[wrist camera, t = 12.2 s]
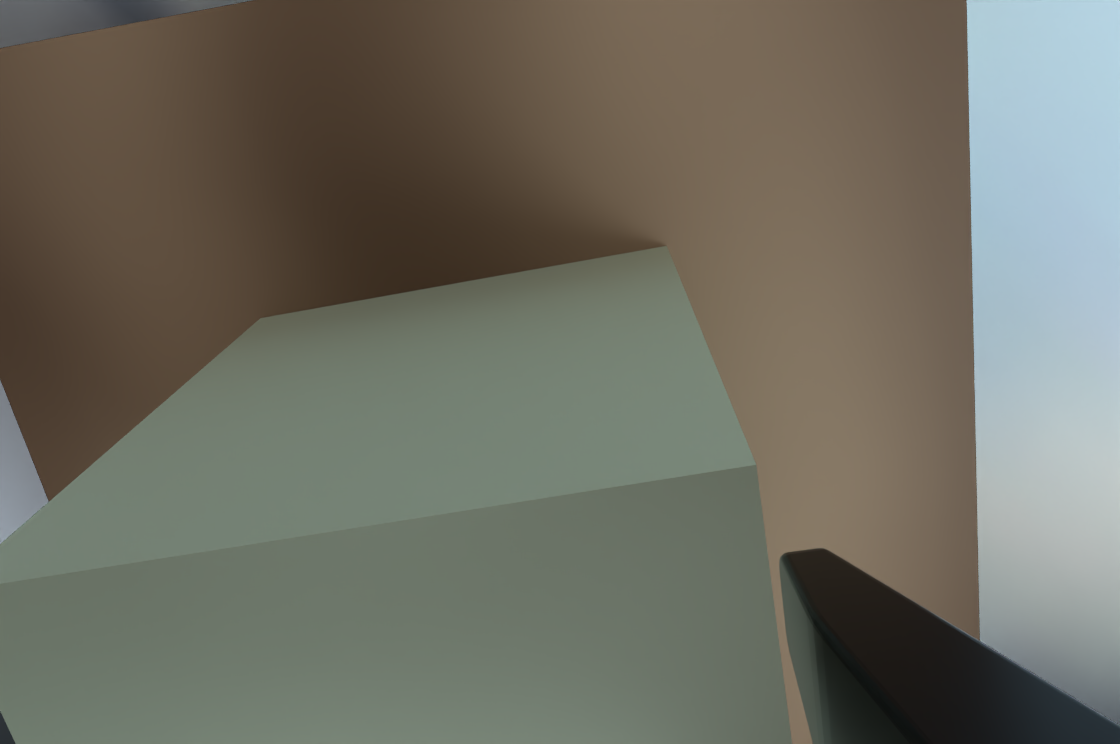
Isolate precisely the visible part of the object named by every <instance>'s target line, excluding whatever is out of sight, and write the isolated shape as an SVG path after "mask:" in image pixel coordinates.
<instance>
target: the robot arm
mask: <svg viewBox="0 0 1120 744" xmlns="http://www.w3.org/2000/svg"><path fill="white" fill-rule="evenodd" d="M779 571H780V581H781V590H782V600H783V609H784V619H785V628H786V636H787V642H788V647H789V652H790V656H791V660H792V664H793V668H794V672H795V676H796V680H797V684H798V687H799V691H800V695H801V699H802V703H803V707H804V711H805V715H806V719H807V722H808V726H809V730H810V734H811V738H812V742H813V744H1120V725H1119V724H1117V723H1116V722H1114V721H1112V720H1111V719H1109V718H1107V717H1106V716H1104V715H1102V714H1101V713H1099V712H1097V711H1096V710H1094V709H1092V708H1091V707H1089V706H1087V705H1086V704H1084V703H1082V702H1081V701H1079V700H1077V699H1076V698H1074V697H1072V696H1071V695H1069V694H1067V693H1066V692H1064V691H1062V690H1061V689H1059V688H1057V687H1056V686H1054V685H1052V684H1051V683H1049V682H1047V681H1046V680H1044V679H1042V678H1041V677H1039V676H1037V675H1036V674H1034V673H1032V672H1031V671H1029V670H1027V669H1026V668H1024V667H1022V666H1021V665H1019V664H1017V663H1016V662H1014V661H1012V660H1011V659H1009V658H1007V657H1006V656H1004V655H1002V654H1001V653H999V652H997V651H996V650H994V649H992V648H991V647H989V646H987V645H986V644H984V643H982V642H981V641H979V640H977V639H976V638H974V637H972V636H971V635H969V634H967V633H966V632H964V631H962V630H961V629H959V628H957V627H956V626H954V625H952V624H951V623H949V622H947V621H946V620H944V619H942V618H941V617H939V616H937V615H936V614H934V613H932V612H931V611H929V610H927V609H926V608H924V607H922V606H921V605H919V604H917V603H916V602H914V601H912V600H911V599H909V598H907V597H906V596H904V595H903V594H901V593H899V592H898V591H896V590H894V589H893V588H891V587H889V586H888V585H886V584H884V583H883V582H881V581H879V580H878V579H876V578H874V577H873V576H871V575H869V574H868V573H866V572H864V571H863V570H861V569H859V568H858V567H856V566H854V565H853V564H851V563H849V562H848V561H846V560H844V559H843V558H841V557H839V556H838V555H836V554H834V553H833V552H831V551H829V550H827V549H825V548H815V549H807V550H800V551H793V552H787V553H784V554H783V555H782V556H781V557H780V560H779ZM0 744H16V743H15V741H14V739H13V737H12V735H11V733H10V731H9V729H8V726H7V724H6V722H5V720H4V718H3V716H2V714H1V711H0Z"/></svg>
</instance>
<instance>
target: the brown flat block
mask: <svg viewBox="0 0 1120 744" xmlns="http://www.w3.org/2000/svg"><path fill="white" fill-rule="evenodd" d="M663 246H667V248H668V250H669V253H670V255H671V258H672V260H673V262H674V265H675V267H676V270H677V272H678V275H679V277H680V280H681V282H682V284H683V287H684V289H685V292H686V294H687V297H688V299H689V302H690V304H691V306H692V309H693V311H694V314H695V316H696V319H697V321H698V324H699V326H700V328H701V331H702V333H703V336H704V338H705V341H706V343H707V346H708V348H709V350H710V353H711V355H712V358H713V360H714V363H715V365H716V368H717V370H718V372H719V375H720V377H721V380H722V382H723V385H724V387H725V390H726V392H727V394H728V397H729V399H730V402H731V404H732V407H733V409H734V412H735V414H736V416H737V419H738V421H739V424H740V426H741V429H742V431H743V434H744V436H745V438H746V441H747V443H748V446H749V448H750V451H751V453H752V456H753V458H754V460H755V463H756V467H757V474H758V482H759V490H760V498H761V506H762V513H763V521H764V529H765V537H766V544H767V552H768V560H769V568H770V576H771V583H772V591H773V599H774V607H775V614H776V622H777V630H778V638H779V646H780V653H781V661H782V669H783V677H784V685H785V692H786V700H787V708H788V716H789V723H790V731H791V739H792V744H813V742H812V738H811V734H810V730H809V726H808V722H807V719H806V715H805V711H804V707H803V703H802V699H801V695H800V691H799V687H798V684H797V680H796V676H795V672H794V668H793V664H792V660H791V656H790V652H789V647H788V642H787V636H786V628H785V619H784V609H783V600H782V590H781V581H780V571H779V560H780V557H781V556H782V555H783V554H784V553H787V552H793V551H800V550H807V549H815V548H825V549H827V550H829V551H831V552H833V553H834V554H836V555H838V556H839V557H841V558H843V559H844V560H846V561H848V562H849V563H851V564H853V565H854V566H856V567H858V568H859V569H861V570H863V571H864V572H866V573H868V574H869V575H871V576H873V577H874V578H876V579H878V580H879V581H881V582H883V583H884V584H886V585H888V586H889V587H891V588H893V589H894V590H896V591H898V592H899V593H901V594H903V595H904V596H906V597H907V598H909V599H911V600H912V601H914V602H916V603H917V604H919V605H921V606H922V607H924V608H926V609H927V610H929V611H931V612H932V613H934V614H936V615H937V616H939V617H941V618H942V619H944V620H946V621H947V622H949V623H951V624H952V625H954V626H956V627H957V628H959V629H961V630H962V631H964V632H966V633H967V634H969V635H971V636H972V637H974V638H976V639H977V640H979V641H980V634H979V585H978V537H977V488H976V440H975V391H974V342H973V294H972V245H971V197H970V148H969V100H968V51H967V3H966V0H253V1H247V2H242V3H237V4H231V5H226V6H221V7H216V8H210V9H205V10H200V11H194V12H189V13H184V14H178V15H173V16H168V17H163V18H157V19H152V20H147V21H141V22H136V23H131V24H125V25H120V26H115V27H110V28H104V29H99V30H94V31H88V32H83V33H78V34H72V35H67V36H62V37H57V38H51V39H46V40H41V41H35V42H30V43H25V44H19V45H14V46H9V47H4V48H0V380H1V382H2V385H3V387H4V390H5V392H6V395H7V397H8V400H9V402H10V405H11V408H12V410H13V413H14V415H15V418H16V420H17V423H18V425H19V428H20V430H21V433H22V435H23V438H24V440H25V443H26V445H27V448H28V450H29V453H30V455H31V458H32V460H33V463H34V465H35V468H36V470H37V473H38V475H39V478H40V480H41V483H42V485H43V488H44V490H45V493H46V495H47V498H48V500H49V501H51V500H52V499H53V498H54V497H55V496H56V495H57V494H59V493H60V492H61V491H62V490H63V489H64V488H65V487H67V486H68V485H69V484H70V483H71V482H72V481H74V480H75V479H76V478H77V477H78V476H79V475H80V474H82V473H83V472H84V471H85V470H86V469H87V468H89V467H90V466H91V465H92V464H93V463H94V462H95V461H97V460H98V459H99V458H100V457H101V456H102V455H103V454H105V453H106V452H107V451H108V450H109V449H110V448H112V447H113V446H114V445H115V444H116V443H117V442H118V441H120V440H121V439H122V438H123V437H124V436H125V435H127V434H128V433H129V432H130V431H131V430H132V429H133V428H135V427H136V426H137V425H138V424H139V423H140V422H141V421H143V420H144V419H145V418H146V417H147V416H148V415H150V414H151V413H152V412H153V411H154V410H155V409H156V408H158V407H159V406H160V405H161V404H162V403H163V402H165V401H166V400H167V399H168V398H169V397H170V396H171V395H173V394H174V393H175V392H176V391H177V390H178V389H179V388H181V387H182V386H183V385H184V384H185V383H186V382H188V381H189V380H190V379H191V378H192V377H193V376H194V375H196V374H197V373H198V372H199V371H200V370H201V369H203V368H204V367H205V366H206V365H207V364H208V363H209V362H211V361H212V360H213V359H214V358H215V357H216V356H217V355H219V354H220V353H221V352H222V351H223V350H224V349H226V348H227V347H228V346H229V345H230V344H231V343H232V342H234V341H235V340H236V339H237V338H238V337H239V336H241V335H242V334H243V333H244V332H245V331H246V330H247V329H249V328H250V327H251V326H252V325H253V324H254V323H255V322H257V321H258V320H259V319H260V318H264V317H270V316H275V315H281V314H287V313H292V312H298V311H303V310H309V309H315V308H320V307H326V306H332V305H337V304H343V303H348V302H354V301H360V300H365V299H371V298H376V297H382V296H388V295H393V294H399V293H404V292H410V291H416V290H421V289H427V288H433V287H438V286H444V285H449V284H455V283H461V282H466V281H472V280H477V279H483V278H489V277H494V276H500V275H505V274H511V273H517V272H522V271H528V270H534V269H539V268H545V267H550V266H556V265H562V264H567V263H573V262H578V261H584V260H590V259H595V258H601V257H607V256H612V255H618V254H623V253H629V252H635V251H640V250H646V249H651V248H657V247H663Z"/></svg>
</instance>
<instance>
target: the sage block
mask: <svg viewBox="0 0 1120 744" xmlns="http://www.w3.org/2000/svg"><path fill="white" fill-rule="evenodd" d="M0 711H1V714H2V716H3V718H4V720H5V722H6V724H7V726H8V729H9V731H10V733H11V735H12V737H13V739H14V741H15V743H16V744H792V739H791V731H790V723H789V716H788V708H787V700H786V692H785V685H784V677H783V669H782V661H781V653H780V646H779V638H778V630H777V622H776V614H775V607H774V599H773V591H772V583H771V576H770V568H769V560H768V552H767V544H766V537H765V529H764V521H763V513H762V506H761V498H760V490H759V482H758V474H757V467H756V463H755V460H754V458H753V456H752V453H751V451H750V448H749V446H748V443H747V441H746V438H745V436H744V434H743V431H742V429H741V426H740V424H739V421H738V419H737V416H736V414H735V412H734V409H733V407H732V404H731V402H730V399H729V397H728V394H727V392H726V390H725V387H724V385H723V382H722V380H721V377H720V375H719V372H718V370H717V368H716V365H715V363H714V360H713V358H712V355H711V353H710V350H709V348H708V346H707V343H706V341H705V338H704V336H703V333H702V331H701V328H700V326H699V324H698V321H697V319H696V316H695V314H694V311H693V309H692V306H691V304H690V302H689V299H688V297H687V294H686V292H685V289H684V287H683V284H682V282H681V280H680V277H679V275H678V272H677V270H676V267H675V265H674V262H673V260H672V258H671V255H670V253H669V250H668V248H667V246H663V247H657V248H651V249H646V250H640V251H635V252H629V253H623V254H618V255H612V256H607V257H601V258H595V259H590V260H584V261H578V262H573V263H567V264H562V265H556V266H550V267H545V268H539V269H534V270H528V271H522V272H517V273H511V274H505V275H500V276H494V277H489V278H483V279H477V280H472V281H466V282H461V283H455V284H449V285H444V286H438V287H433V288H427V289H421V290H416V291H410V292H404V293H399V294H393V295H388V296H382V297H376V298H371V299H365V300H360V301H354V302H348V303H343V304H337V305H332V306H326V307H320V308H315V309H309V310H303V311H298V312H292V313H287V314H281V315H275V316H270V317H264V318H260V319H259V320H258V321H257V322H255V323H254V324H253V325H252V326H251V327H250V328H249V329H247V330H246V331H245V332H244V333H243V334H242V335H241V336H239V337H238V338H237V339H236V340H235V341H234V342H232V343H231V344H230V345H229V346H228V347H227V348H226V349H224V350H223V351H222V352H221V353H220V354H219V355H217V356H216V357H215V358H214V359H213V360H212V361H211V362H209V363H208V364H207V365H206V366H205V367H204V368H203V369H201V370H200V371H199V372H198V373H197V374H196V375H194V376H193V377H192V378H191V379H190V380H189V381H188V382H186V383H185V384H184V385H183V386H182V387H181V388H179V389H178V390H177V391H176V392H175V393H174V394H173V395H171V396H170V397H169V398H168V399H167V400H166V401H165V402H163V403H162V404H161V405H160V406H159V407H158V408H156V409H155V410H154V411H153V412H152V413H151V414H150V415H148V416H147V417H146V418H145V419H144V420H143V421H141V422H140V423H139V424H138V425H137V426H136V427H135V428H133V429H132V430H131V431H130V432H129V433H128V434H127V435H125V436H124V437H123V438H122V439H121V440H120V441H118V442H117V443H116V444H115V445H114V446H113V447H112V448H110V449H109V450H108V451H107V452H106V453H105V454H103V455H102V456H101V457H100V458H99V459H98V460H97V461H95V462H94V463H93V464H92V465H91V466H90V467H89V468H87V469H86V470H85V471H84V472H83V473H82V474H80V475H79V476H78V477H77V478H76V479H75V480H74V481H72V482H71V483H70V484H69V485H68V486H67V487H65V488H64V489H63V490H62V491H61V492H60V493H59V494H57V495H56V496H55V497H54V498H53V499H52V500H51V501H49V502H48V503H47V504H46V505H45V506H44V507H42V508H41V509H40V510H39V511H38V512H37V513H36V514H34V515H33V516H32V517H31V518H30V519H29V520H28V521H26V522H25V523H24V524H23V525H22V526H21V527H19V528H18V529H17V530H16V531H15V532H14V533H13V534H11V535H10V536H9V537H8V538H7V539H6V540H4V541H3V542H2V543H1V544H0Z"/></svg>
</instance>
